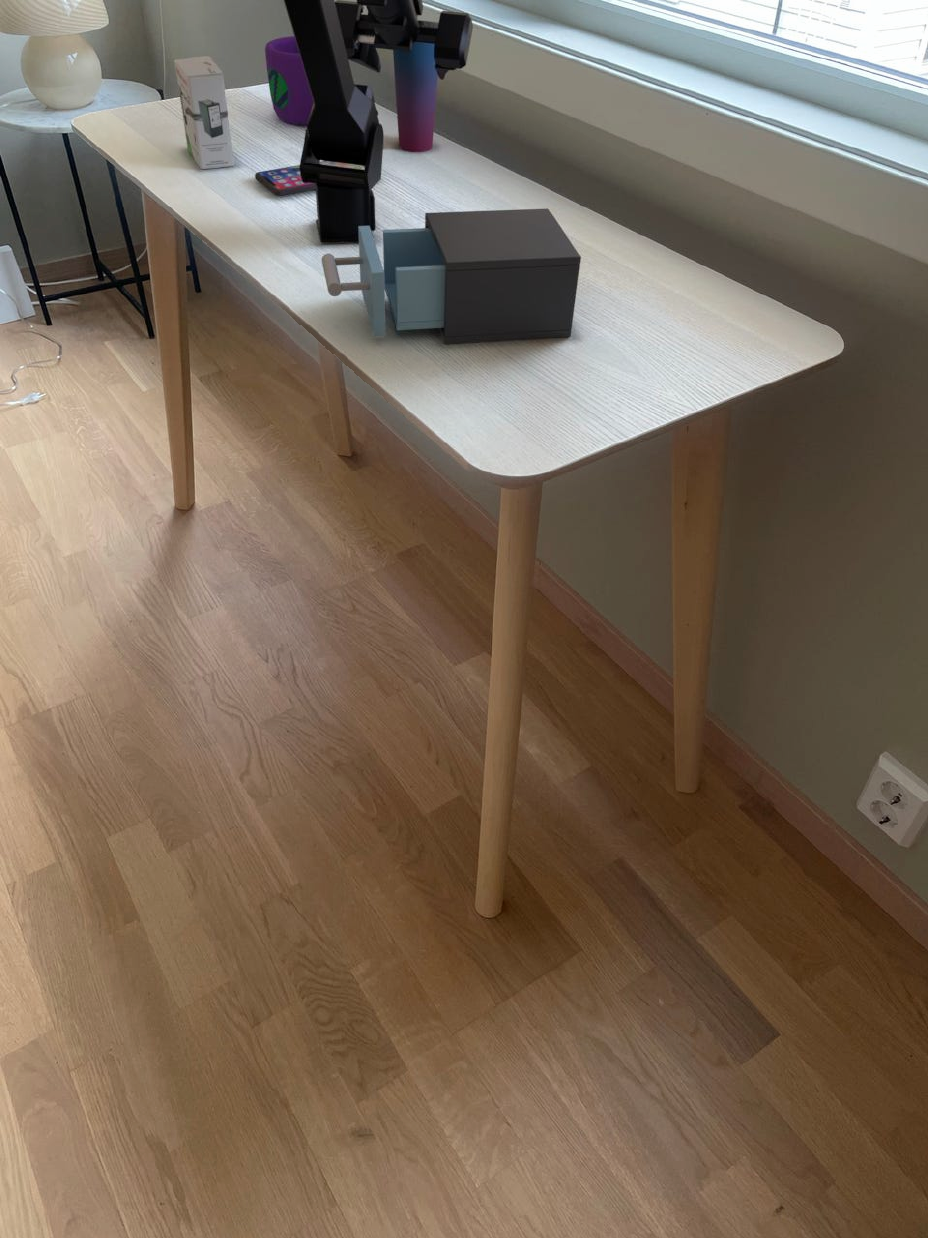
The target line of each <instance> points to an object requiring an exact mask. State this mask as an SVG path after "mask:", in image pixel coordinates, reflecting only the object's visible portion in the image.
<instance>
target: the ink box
mask: <svg viewBox="0 0 928 1238" xmlns="http://www.w3.org/2000/svg"><path fill="white" fill-rule="evenodd" d="M173 61H174V69H175V74H176V80H177V88H178V93H179V94H178V95H179V100H180V106H181V113H182V120H183V127H184V132H185V139H186V146H187V147H186V148H187V151H188V152H189V154H190V155H191V157H192V158H193V160H194V161H195V163H197V165H198V167H199V168H200V169H201V170H208V169H217V168H218V169H219V168H229V167H234V166H235V165H236V164H235V157H234V149H233V142H232V134H231V127H230V119H229V111H228V103H227V95H226V94H227V93H226V87H225V79H224V74H223V71H222V70H221V68H219V66H218V65H217V64H216V62H215V61H214V60H213V59H212V57H211V56H209V55H203V56H195V57H188V58H177V59H174V60H173Z"/></svg>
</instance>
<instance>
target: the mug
mask: <svg viewBox="0 0 928 1238" xmlns="http://www.w3.org/2000/svg"><path fill="white" fill-rule="evenodd" d="M264 54H265V64H266V65H265V66H266V73H267V80H268V87H269V93H270V100H271V104H272V107H273V108H272V109H273V111H274V113H275V115H276V116H277V117H278V118H279V119H280V120H282V121H283V122H286V123H288V124H292V125H295V126H296V125H297V126H307V123H308V119H309V116H310V113H311V110H312V107H313V103H314V101H313V98H312V94H311V91H310V88H309V84H308V81H307V77H306V74H305V71H304V67H303V64H302V61H301V57H300V54H299V50H298V47H297V44H296V40H295V37H294V35H293V36H292V35H291V36H282V37H278V38H274V39H272V40H270V41H268V42H267V43H266V44H265V48H264Z"/></svg>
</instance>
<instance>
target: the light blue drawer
mask: <svg viewBox="0 0 928 1238" xmlns="http://www.w3.org/2000/svg"><path fill="white" fill-rule="evenodd" d="M358 233H359V242H358V253H359V255H358V256H350V257H346V256H345V257H335V256H334V255H333V254H332V253H325V254H323V255H322V257H321V264H322V269H323V273H324V278H325V283H326V288H327V292H328V294H329V295H330V296H332V297H338V296H340V295H341V294H342V292H352V291H354V292H355V291H361V294H362V299H363V302H364V305H365V310H366V314H367V316H368V320H369V324H370V328H371V332H372V335H373V338H385V337H386V335H387V334H386V298H387V301H388V304H389V305H388V306H389V308H390V312H391V315H392V317H393V321H394V324H395V327H396V330H397V331H406V330H426V329H439V328H444V302H445V268H446V267H445V265H444V262H443V260H442V258H441V255H440V253H439V251H438V248H437V246H436V244H435V241H434V239H433V237H432V234H431V232H430V230H429V228H425V227H422V228H421V227H419V228H395V229H392V228H391V229H382V255H383V256H382V258H383V259H382V260H383V262H381V258H380V255H379V252H378V248H377V245H376V242H375V238H374V234H373V235H372V233H373V231H372V232H371V229H370V226H358ZM382 263H383V264H382ZM355 265H359V281H357V282H356V281H355V282H341V279H340V275H339V274H340V273H339V269H338V267H337V266H355ZM385 295H386V296H385Z"/></svg>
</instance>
